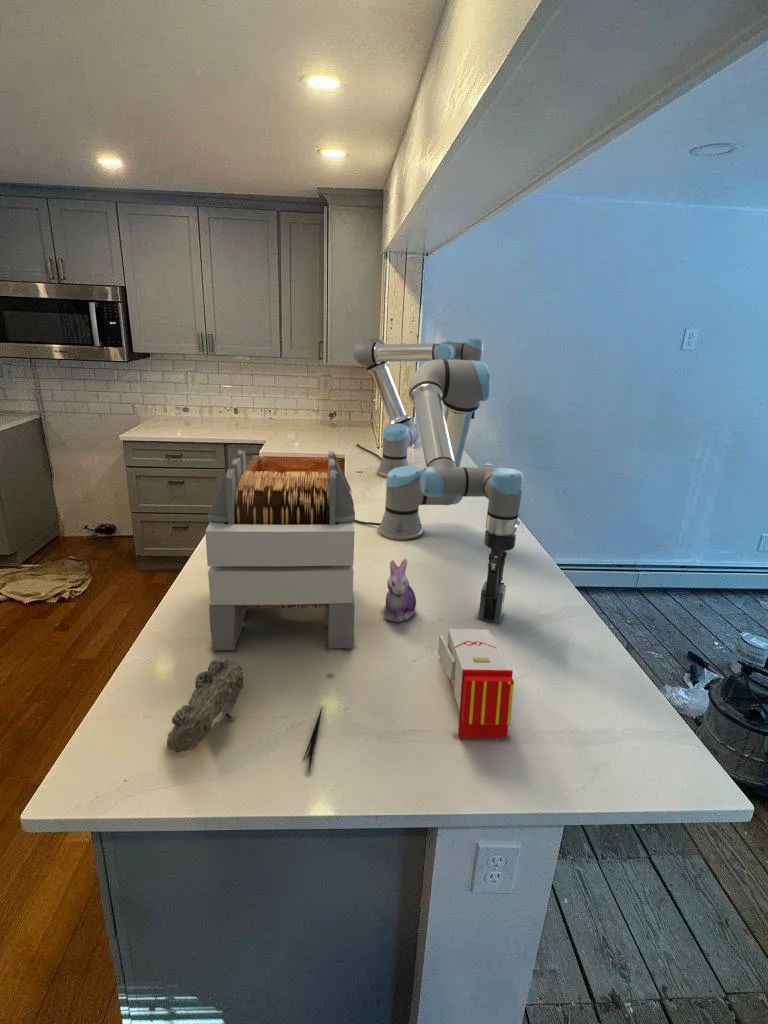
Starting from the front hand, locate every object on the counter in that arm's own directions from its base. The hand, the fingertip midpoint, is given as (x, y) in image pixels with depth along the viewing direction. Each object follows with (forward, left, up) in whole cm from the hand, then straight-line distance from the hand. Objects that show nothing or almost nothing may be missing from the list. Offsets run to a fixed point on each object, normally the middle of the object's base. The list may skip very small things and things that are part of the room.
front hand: (490, 613), depth 148 cm
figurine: (-15, -18, -1) cm, 24 cm away
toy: (+17, -28, -1) cm, 33 cm away
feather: (+5, -58, -1) cm, 58 cm away
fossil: (-8, -73, -1) cm, 74 cm away
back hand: (-94, +94, +26) cm, 136 cm away
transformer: (-32, -42, -1) cm, 53 cm away
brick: (0, 0, -1) cm, 1 cm away
